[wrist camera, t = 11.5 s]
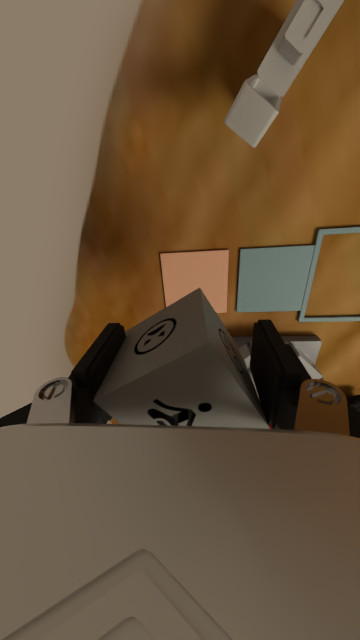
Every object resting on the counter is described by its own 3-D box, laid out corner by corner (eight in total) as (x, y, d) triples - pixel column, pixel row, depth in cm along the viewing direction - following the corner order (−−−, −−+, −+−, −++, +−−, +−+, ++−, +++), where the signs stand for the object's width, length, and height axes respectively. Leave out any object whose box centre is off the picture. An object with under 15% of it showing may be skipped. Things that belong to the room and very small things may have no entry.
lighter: (288, 25, 12) (402, -209, 5) (309, 47, 13) (443, -144, 6) (214, 155, 16) (224, 117, 9) (233, 171, 16) (257, 145, 9)
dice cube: (126, 331, 12) (92, 400, 8) (199, 287, 11) (208, 342, 7) (173, 384, 14) (168, 464, 10) (241, 353, 13) (270, 429, 9)
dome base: (317, 335, 22) (332, 353, 19) (298, 403, 26) (308, 425, 24) (217, 336, 23) (219, 354, 20) (216, 401, 28) (218, 422, 25)
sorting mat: (435, 221, 16) (438, 221, 16) (391, 319, 20) (393, 320, 20) (158, 239, 19) (158, 239, 18) (168, 323, 23) (167, 324, 22)
